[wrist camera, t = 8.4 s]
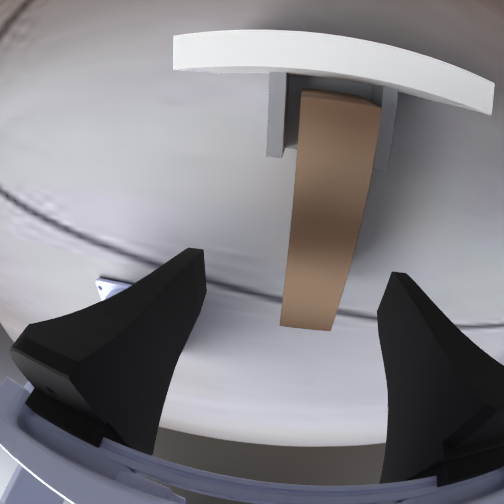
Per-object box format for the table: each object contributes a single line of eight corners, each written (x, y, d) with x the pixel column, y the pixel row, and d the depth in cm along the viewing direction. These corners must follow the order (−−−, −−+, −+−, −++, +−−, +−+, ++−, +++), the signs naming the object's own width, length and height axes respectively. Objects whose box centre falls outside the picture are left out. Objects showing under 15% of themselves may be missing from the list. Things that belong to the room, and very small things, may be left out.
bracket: (420, 166, 16) (469, 211, 10) (220, 141, 18) (177, 174, 12) (432, 78, 13) (494, 83, 7) (221, 51, 14) (173, 35, 9)
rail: (328, 274, 22) (330, 331, 17) (287, 269, 22) (279, 325, 18) (358, 95, 14) (381, 108, 9) (302, 87, 14) (300, 96, 10)
